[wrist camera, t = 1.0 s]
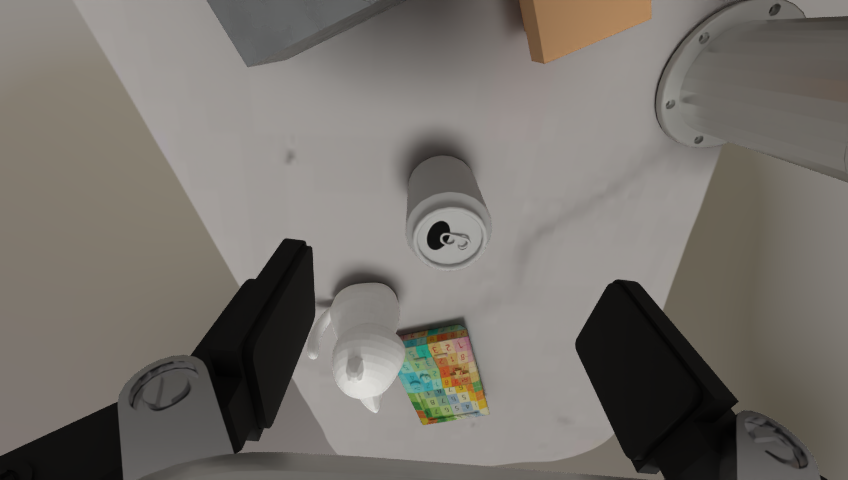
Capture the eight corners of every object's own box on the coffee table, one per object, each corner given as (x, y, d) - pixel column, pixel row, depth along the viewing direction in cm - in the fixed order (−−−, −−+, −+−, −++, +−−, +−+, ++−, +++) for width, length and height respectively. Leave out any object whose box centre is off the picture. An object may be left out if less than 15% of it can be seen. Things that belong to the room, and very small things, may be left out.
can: (417, 144, 34) (417, 190, 24) (484, 162, 36) (511, 213, 25) (401, 206, 38) (395, 268, 28) (461, 221, 39) (477, 285, 29)
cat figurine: (414, 312, 47) (416, 413, 35) (334, 330, 49) (307, 434, 36) (395, 264, 43) (388, 360, 30) (307, 286, 44) (265, 387, 31)
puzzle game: (468, 341, 44) (490, 419, 55) (464, 316, 48) (485, 393, 59) (386, 356, 46) (422, 430, 56) (388, 331, 50) (422, 404, 60)
